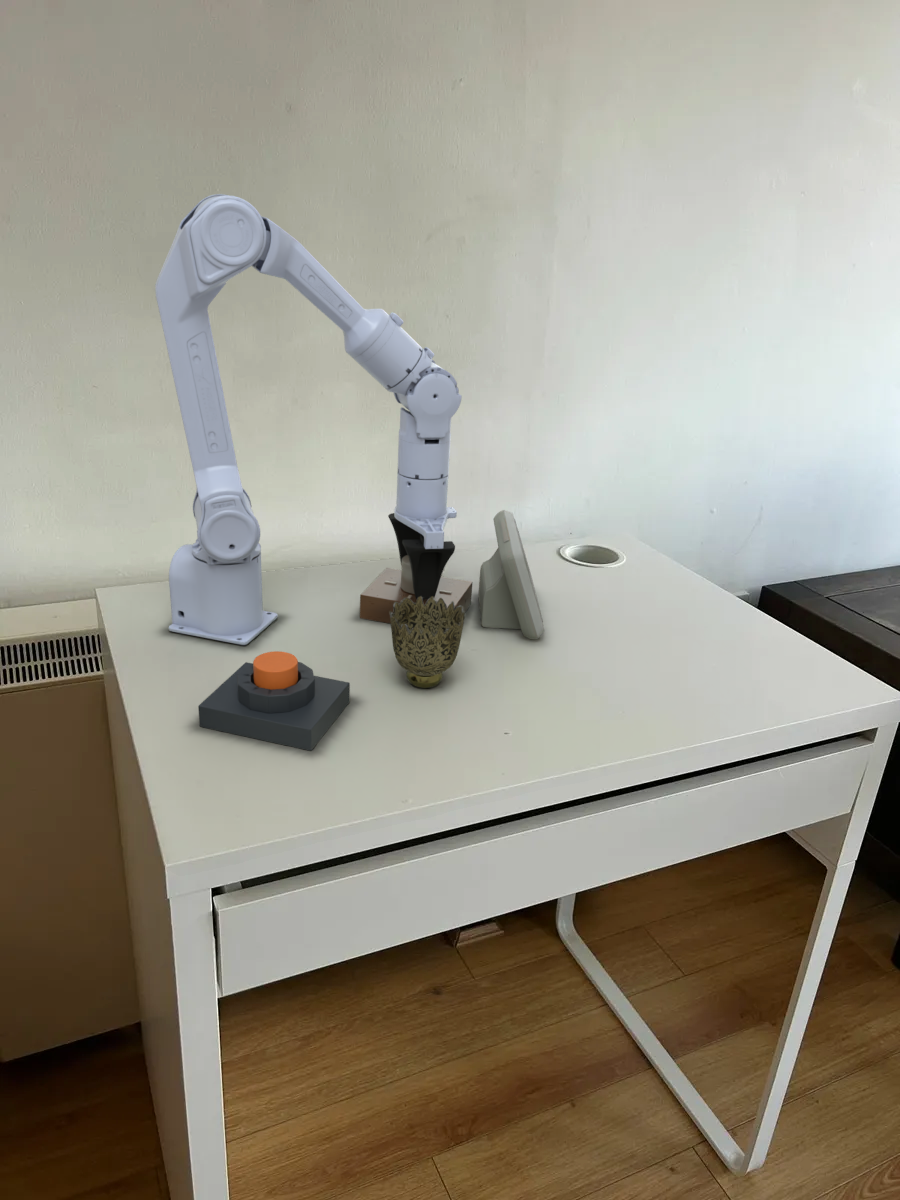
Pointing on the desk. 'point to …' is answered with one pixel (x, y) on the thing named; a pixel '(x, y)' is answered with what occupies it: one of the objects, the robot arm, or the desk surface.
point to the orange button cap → (275, 670)
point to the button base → (276, 708)
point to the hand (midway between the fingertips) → (417, 585)
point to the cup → (426, 638)
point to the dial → (406, 575)
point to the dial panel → (407, 595)
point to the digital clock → (509, 584)
